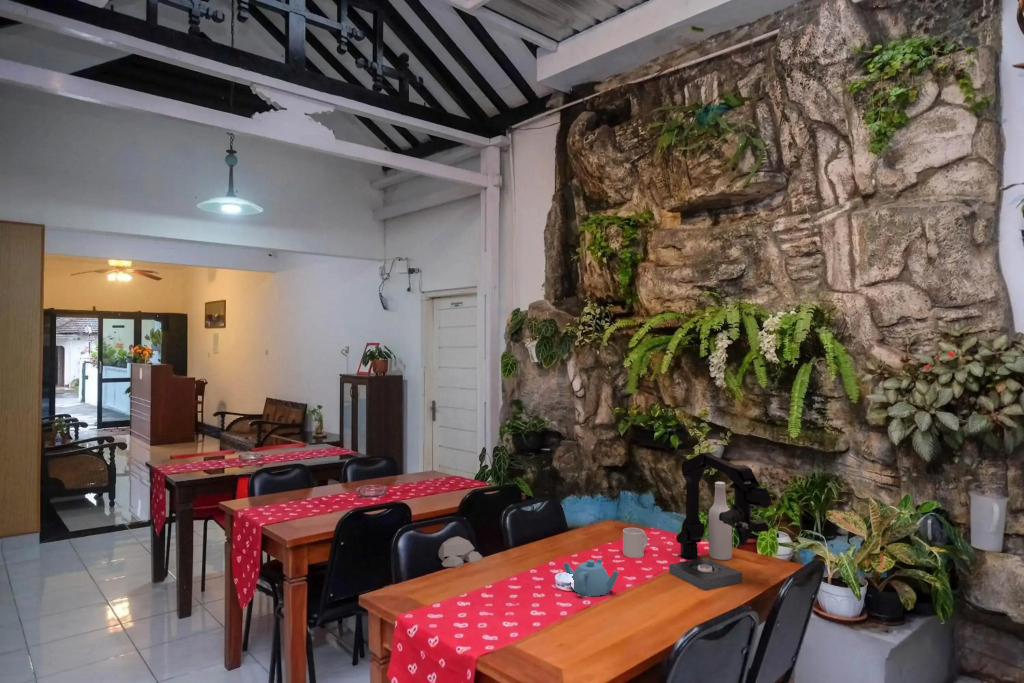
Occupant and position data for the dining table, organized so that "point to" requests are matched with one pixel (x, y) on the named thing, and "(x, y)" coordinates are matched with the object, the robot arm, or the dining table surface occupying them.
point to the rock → (457, 552)
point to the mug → (634, 542)
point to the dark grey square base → (705, 574)
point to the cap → (705, 568)
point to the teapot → (591, 578)
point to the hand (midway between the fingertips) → (743, 545)
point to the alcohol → (719, 527)
